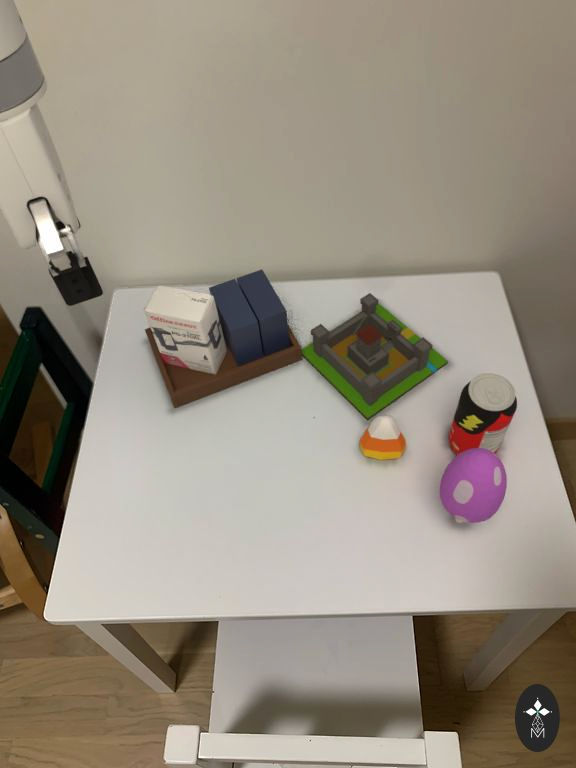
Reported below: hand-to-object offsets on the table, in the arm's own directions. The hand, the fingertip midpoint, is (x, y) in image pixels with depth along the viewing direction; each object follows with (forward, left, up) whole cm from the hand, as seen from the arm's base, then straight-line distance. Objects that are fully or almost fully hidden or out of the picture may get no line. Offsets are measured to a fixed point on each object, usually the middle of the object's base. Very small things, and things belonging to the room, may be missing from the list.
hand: (74, 263), depth 54 cm
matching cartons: (+18, +11, -31) cm, 38 cm away
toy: (+30, -26, -32) cm, 51 cm away
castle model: (+32, 0, -32) cm, 46 cm away
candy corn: (+26, -14, -32) cm, 44 cm away
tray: (+13, +11, -32) cm, 37 cm away
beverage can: (+37, -18, -32) cm, 52 cm away
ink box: (+9, +11, -32) cm, 35 cm away
